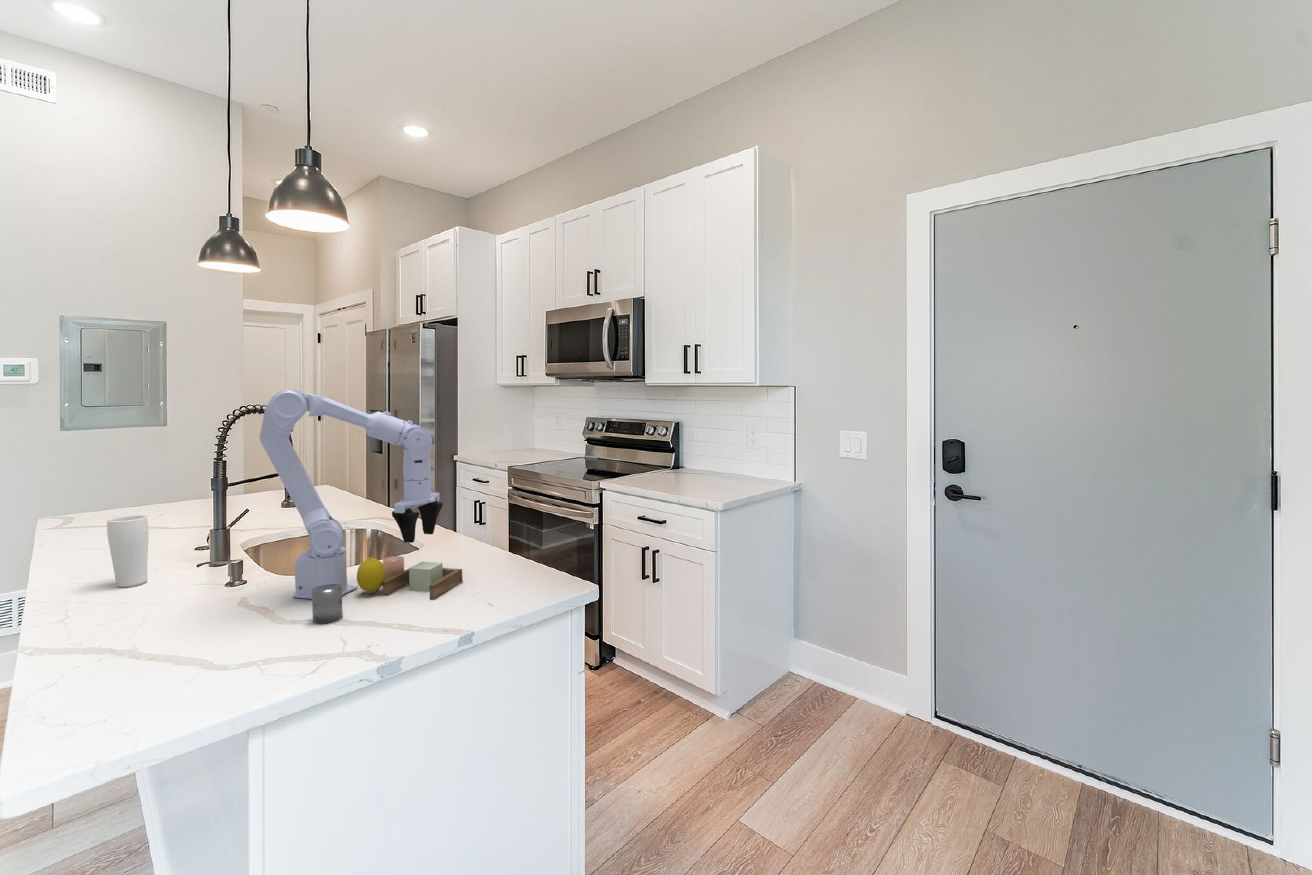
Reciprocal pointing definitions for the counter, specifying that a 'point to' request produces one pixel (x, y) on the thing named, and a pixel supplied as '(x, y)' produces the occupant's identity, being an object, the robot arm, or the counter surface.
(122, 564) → the drinking glass
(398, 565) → the peach rounded cylinder
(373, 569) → the lemon
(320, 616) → the can
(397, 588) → the corral
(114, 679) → the counter surface
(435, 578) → the block
